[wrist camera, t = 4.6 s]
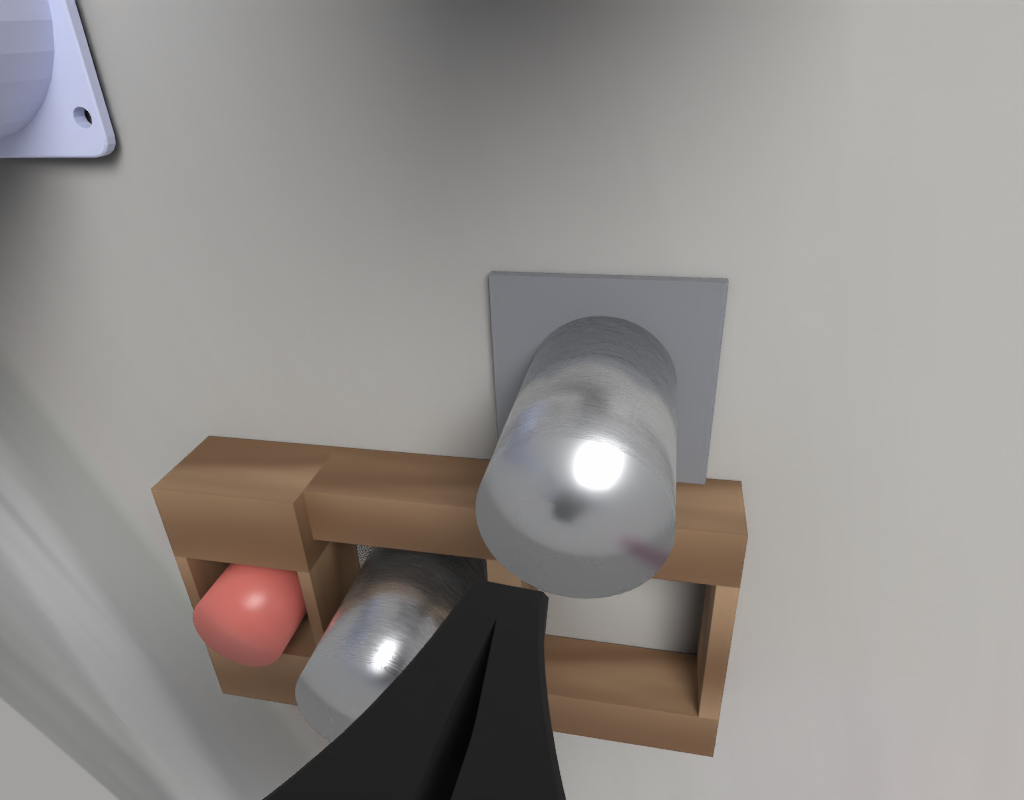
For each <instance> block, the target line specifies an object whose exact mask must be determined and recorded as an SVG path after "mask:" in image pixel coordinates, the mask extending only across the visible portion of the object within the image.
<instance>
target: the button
mask: <svg viewBox="0 0 1024 800" xmlns="http://www.w3.org/2000/svg"><path fill="white" fill-rule="evenodd" d="M306 613H307V610H306V605H305V601H304V597H303V593H302V589H301V585H300V581H299V577H298V573H297V571H289V570H281V569H273V568H265V567H257V566H249V565H241V564H233V563H230V564H229V566H228V567H227V568H226V569H225V571H224V572H223V573H222V574H221V576H220V577H219V578H218V579H217V581H216V582H215V583H214V584H213V585H212V587H211V588H210V589H209V590H208V592H207V593H206V594H205V595H204V597H203V598H202V599H201V600H200V602H199V603H198V604H197V605H196V607H195V609H194V612H193V622H194V625H195V628H196V630H197V632H198V634H199V635H200V637H201V638H202V639H203V640H204V642H205V643H206V644H207V645H208V646H209V647H210V648H212V649H213V650H214V651H215V652H217V653H218V654H220V655H221V656H223V657H225V658H227V659H229V660H231V661H233V662H236V663H239V664H242V665H247V666H266V665H269V664H272V663H273V662H275V661H276V660H277V659H278V658H279V657H280V656H281V654H282V652H283V651H284V649H285V648H286V646H287V644H288V643H289V641H290V639H291V638H292V636H293V635H294V633H295V631H296V630H297V628H298V626H299V625H300V623H301V622H302V620H303V618H304V617H305V615H306Z"/></svg>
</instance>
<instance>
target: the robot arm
mask: <svg viewBox="0 0 1024 800" xmlns="http://www.w3.org/2000/svg"><path fill="white" fill-rule="evenodd" d="M85 109H86V110H87V111H88V112H89V114H90V116H91V118H92V124H90V123H89V122H88V121H87V119H86V117H85V113H84V110H85ZM115 144H116V142H115V135H114V132H113V129H112V125H111V122H110V118H109V115H108V112H107V108H106V105H105V101H104V98H103V95H102V91H101V88H100V85H99V81H98V78H97V74H96V71H95V68H94V64H93V61H92V57H91V54H90V51H89V47H88V44H87V41H86V37H85V34H84V30H83V27H82V24H81V20H80V17H79V13H78V10H77V7H76V3H75V0H0V158H97V157H101V156H105V155H108V154H111V152H112V151H113V150H114V148H115ZM548 600H549V598H548V597H547V596H546V594H545V593H544V592H541V591H536V590H531V589H526V588H521V587H515V586H510V585H505V584H500V583H494V582H489V581H484V580H479V579H476V580H474V581H472V582H471V583H470V584H469V585H468V587H467V589H466V590H465V592H464V593H463V595H462V596H461V598H460V599H459V601H458V602H457V604H456V605H455V606H454V608H453V609H452V611H451V612H450V613H449V615H448V616H447V617H446V619H445V620H444V621H443V623H442V624H441V625H440V627H439V628H438V629H437V630H436V632H435V633H434V634H433V636H432V637H431V638H430V639H429V640H428V642H427V643H426V644H425V645H424V646H423V648H422V649H421V650H420V651H419V652H418V654H417V655H416V656H415V657H414V658H413V660H412V661H411V662H410V663H409V664H408V665H407V667H406V668H405V669H404V670H403V671H402V672H401V673H400V674H399V676H398V677H397V678H396V679H395V680H394V681H393V682H392V683H391V684H390V685H389V686H388V687H387V688H386V689H385V690H384V692H383V693H382V694H381V695H380V696H379V697H378V698H377V699H376V700H375V701H374V702H373V703H372V704H371V705H370V706H369V707H368V708H367V709H366V710H365V711H364V712H363V713H362V714H361V715H360V716H359V717H358V718H357V719H356V720H355V721H354V722H353V723H352V724H351V725H350V726H349V727H348V728H347V729H346V730H345V731H344V732H343V733H341V734H340V735H339V736H338V737H337V738H336V739H335V740H334V741H333V742H332V743H330V744H329V745H328V746H327V747H326V748H325V749H324V750H323V751H322V752H320V753H319V754H318V755H317V756H316V757H314V758H313V759H312V760H311V761H310V762H308V763H307V764H306V765H305V766H304V767H303V768H301V769H300V770H299V771H298V772H297V773H295V774H294V775H293V776H292V777H291V778H289V779H288V780H287V781H286V782H284V783H283V784H282V785H281V786H279V787H278V788H277V789H276V790H274V791H273V792H272V793H270V794H269V795H268V796H267V797H265V798H264V799H262V800H566V798H565V794H564V789H563V785H562V780H561V775H560V770H559V765H558V760H557V755H556V749H555V743H554V737H553V731H552V725H551V718H550V711H549V703H548V693H547V683H546V674H545V657H544V638H545V629H546V619H547V609H548Z"/></svg>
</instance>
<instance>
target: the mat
mask: <svg viewBox="0 0 1024 800" xmlns="http://www.w3.org/2000/svg"><path fill="white" fill-rule="evenodd" d="M727 291H728V279H723V278H690V277H658V276H625V275H593V274H560V273H527V272H495V271H491V272H490V274H489V292H490V310H491V327H492V344H493V362H494V379H495V397H496V414H497V432H498V441H499V438H500V436H501V434H502V431H503V429H504V426H505V424H506V422H507V419H508V417H509V414H510V412H511V410H512V407H513V405H514V402H515V400H516V398H517V395H518V393H519V390H520V388H521V386H522V383H523V381H524V379H525V376H526V374H527V371H528V369H529V367H530V364H531V362H532V359H533V357H534V355H535V353H536V351H537V349H538V347H539V346H540V345H541V343H542V342H543V340H544V339H545V338H546V337H547V336H548V335H549V334H551V333H552V332H553V331H554V330H556V329H557V328H559V327H560V326H562V325H564V324H566V323H568V322H571V321H573V320H576V319H580V318H584V317H591V316H609V317H616V318H620V319H624V320H627V321H630V322H633V323H635V324H637V325H639V326H641V327H643V328H644V329H646V330H647V331H648V332H650V333H651V334H652V335H653V336H655V337H656V338H657V339H658V340H659V341H660V342H661V344H662V345H663V346H664V347H665V349H666V350H667V352H668V353H669V355H670V357H671V359H672V361H673V364H674V367H675V370H676V376H677V439H676V482H683V483H694V484H705V482H706V473H707V464H708V456H709V447H710V438H711V430H712V421H713V412H714V404H715V395H716V386H717V378H718V369H719V360H720V352H721V343H722V334H723V326H724V317H725V308H726V300H727Z"/></svg>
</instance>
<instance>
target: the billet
mask: <svg viewBox="0 0 1024 800" xmlns="http://www.w3.org/2000/svg"><path fill="white" fill-rule="evenodd" d="M676 439H677V376H676V370H675V367H674V364H673V361H672V359H671V357H670V355H669V353H668V352H667V350H666V349H665V347H664V346H663V345H662V344H661V342H660V341H659V340H658V339H657V338H656V337H655V336H653V335H652V334H651V333H650V332H648V331H647V330H646V329H644V328H643V327H641V326H639V325H637V324H635V323H633V322H630V321H627V320H624V319H620V318H616V317H609V316H591V317H584V318H580V319H576V320H573V321H571V322H568V323H566V324H564V325H562V326H560V327H559V328H557V329H556V330H554V331H553V332H552V333H551V334H549V335H548V336H547V337H546V338H545V339H544V340H543V342H542V343H541V345H540V346H539V347H538V349H537V351H536V353H535V355H534V357H533V359H532V362H531V364H530V367H529V369H528V371H527V374H526V376H525V379H524V381H523V383H522V386H521V388H520V390H519V393H518V395H517V398H516V400H515V402H514V405H513V407H512V410H511V412H510V414H509V417H508V419H507V422H506V424H505V426H504V429H503V431H502V434H501V436H500V438H499V441H498V443H497V445H496V448H495V450H494V453H493V455H492V457H491V460H490V462H489V465H488V467H487V469H486V472H485V474H484V477H483V479H482V481H481V484H480V487H479V490H478V493H477V498H476V519H477V525H478V528H479V531H480V534H481V536H482V538H483V540H484V542H485V544H486V546H487V547H488V549H489V550H490V552H491V553H492V554H493V556H494V557H495V558H496V559H497V560H498V562H499V563H501V564H502V565H503V566H504V567H505V568H506V569H507V570H508V571H510V572H511V573H512V574H513V575H515V576H516V577H518V578H519V579H521V580H523V581H524V582H526V583H528V584H530V585H532V586H534V587H536V588H538V589H541V590H544V591H546V592H549V593H553V594H557V595H560V596H566V597H572V598H602V597H609V596H613V595H618V594H621V593H624V592H627V591H630V590H632V589H634V588H636V587H638V586H640V585H642V584H643V583H645V582H646V581H647V580H649V579H650V578H651V577H653V576H654V575H655V574H656V573H657V572H658V571H659V570H660V568H661V567H662V566H663V565H664V564H665V562H666V560H667V558H668V557H669V555H670V553H671V550H672V547H673V545H674V539H675V534H676Z"/></svg>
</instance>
